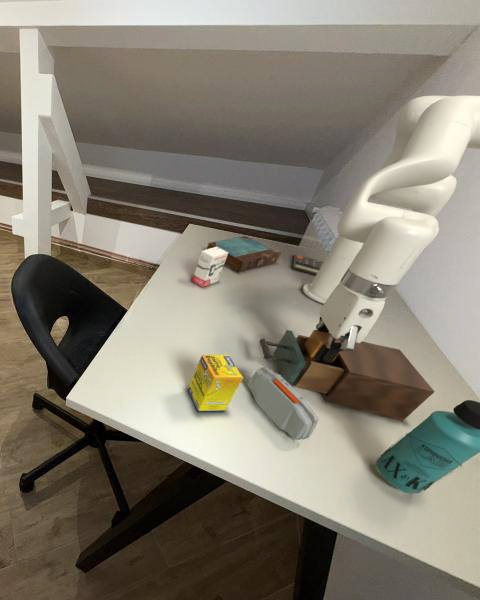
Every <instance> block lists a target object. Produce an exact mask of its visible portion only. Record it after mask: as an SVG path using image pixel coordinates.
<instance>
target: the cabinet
mask: <svg viewBox="0 0 480 600" xmlns="http://www.w3.org/2000/svg"><path fill="white" fill-rule="evenodd" d="M338 340H339V341H340V342H341V340H340V339H338ZM337 356H338V358H339V360H340V361H341V363H342V365H343V367H344V368H345V370H346V373H345V374H344V376H343V377H342V378H341V379H340V381H339V382H338V383H337V384H336V386H335V387H334V388H333V389H332V391H331V392H330V393H329V394H325V393H321V395H322V397H323V399H324V401H325V403H329V404H332V405H336V406H340V407H344V408H349V409H352V410H356V411H361V412H363V413H366V414H367V413H368V414H370V415H371V414H372V415H375V416H379V417H384V418H387V419H391V420H395V421H398V422H404V421H405V420H406V419H407V418H408V417H409V416H410V415H411V414H412V413H414V411H416V410H417V409H418V408H419V407H420V406H421V405H422V404H423V403H424V402H425V401H427V399H429V398H430V397H431V396H432V395H433V394H434V393H435V390H434V389H433V387H432V386H431V385H430V384H429V383H428V381H427V380H426V379H425V378H424V377H423V376H422V375H421V373H420V372H419V370H417V368H416V367H415V366H414V365H413V364H412V363H411V362H410V360H409V359H408V358H407V357H406V355H405V354H404V353H403V352H402V350H401V349H400V348H399V349H398V348H394V347H389V346H384V345H381V344H375V343H371V342H367V341H362V342H361V343H355V346H354V350H353V351H348V350H343V351H340V353H339V354H338V355H337Z"/></svg>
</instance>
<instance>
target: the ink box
mask: <svg viewBox="0 0 480 600" xmlns="http://www.w3.org/2000/svg"><path fill="white" fill-rule="evenodd" d="M227 255H228V252H226V251H224V250H222V249H221V248H219V247H214V248H210V249H207V248H205V249H203V250H201V252H200V255H199V258H198V261H197V264H196V268H195V270H194V274H193V277H192V279H191V280H192V283H195V284H196V285H198V286H199V287H201V288H203V287H207V286H210V285H212V284H215V283H218V281H219V279H220V276H221V273H222V271H223V268H224V266H225V265H224V263H225V261H226V258H227Z"/></svg>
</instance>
